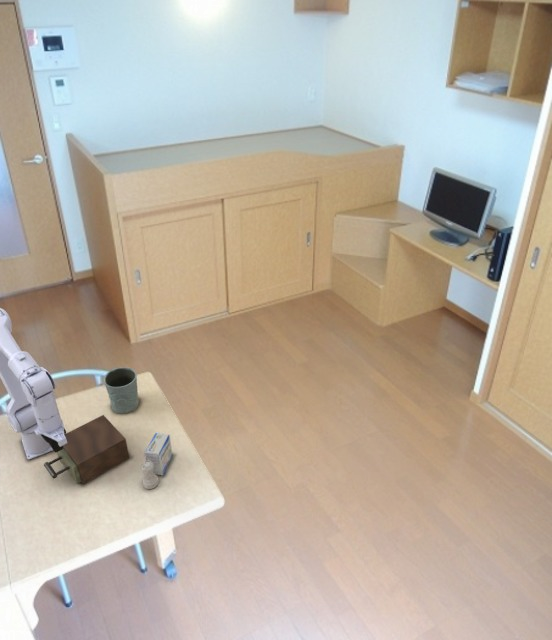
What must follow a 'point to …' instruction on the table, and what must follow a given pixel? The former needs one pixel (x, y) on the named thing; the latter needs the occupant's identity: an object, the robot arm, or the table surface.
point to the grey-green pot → (122, 389)
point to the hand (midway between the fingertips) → (58, 449)
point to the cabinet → (96, 448)
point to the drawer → (68, 464)
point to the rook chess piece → (149, 475)
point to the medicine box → (159, 452)
